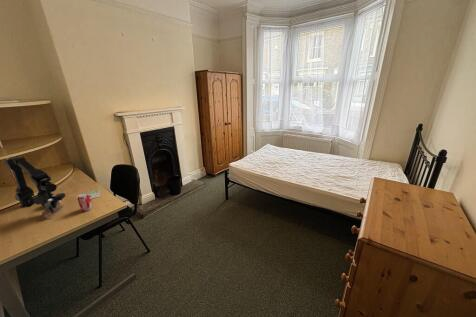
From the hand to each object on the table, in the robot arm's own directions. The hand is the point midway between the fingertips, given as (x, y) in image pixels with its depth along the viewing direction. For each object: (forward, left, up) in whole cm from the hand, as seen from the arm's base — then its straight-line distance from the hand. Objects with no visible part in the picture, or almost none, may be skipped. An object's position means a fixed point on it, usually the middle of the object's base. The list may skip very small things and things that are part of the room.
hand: (51, 208), depth 137 cm
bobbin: (-7, +12, -4) cm, 14 cm away
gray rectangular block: (0, 0, -2) cm, 2 cm away
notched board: (0, 0, -4) cm, 4 cm away
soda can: (+22, -1, -4) cm, 22 cm away
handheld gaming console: (+16, +21, -4) cm, 27 cm away
